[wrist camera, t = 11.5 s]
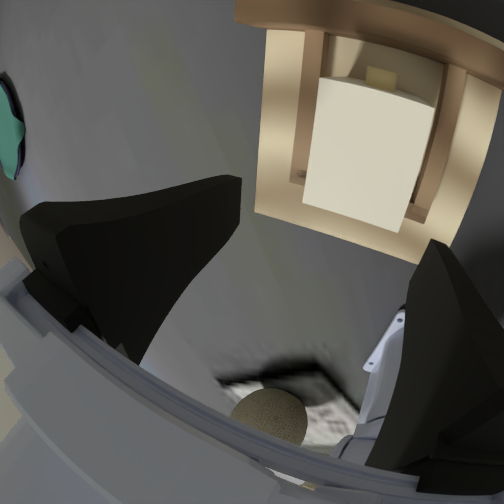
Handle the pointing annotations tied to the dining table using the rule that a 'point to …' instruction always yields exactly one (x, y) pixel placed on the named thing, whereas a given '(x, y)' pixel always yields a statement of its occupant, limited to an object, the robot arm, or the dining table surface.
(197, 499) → the robot arm
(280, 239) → the dining table surface
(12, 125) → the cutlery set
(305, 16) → the board
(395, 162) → the cabinet block
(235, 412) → the fruit
